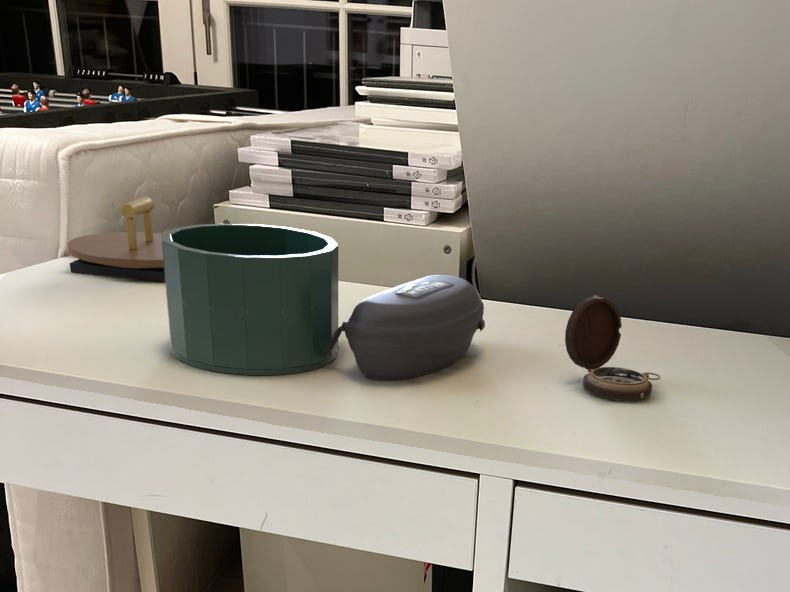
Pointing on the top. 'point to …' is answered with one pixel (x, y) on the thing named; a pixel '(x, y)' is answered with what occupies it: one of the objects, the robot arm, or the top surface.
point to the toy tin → (251, 297)
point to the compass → (602, 351)
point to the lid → (123, 242)
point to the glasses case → (413, 327)
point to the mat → (116, 271)
